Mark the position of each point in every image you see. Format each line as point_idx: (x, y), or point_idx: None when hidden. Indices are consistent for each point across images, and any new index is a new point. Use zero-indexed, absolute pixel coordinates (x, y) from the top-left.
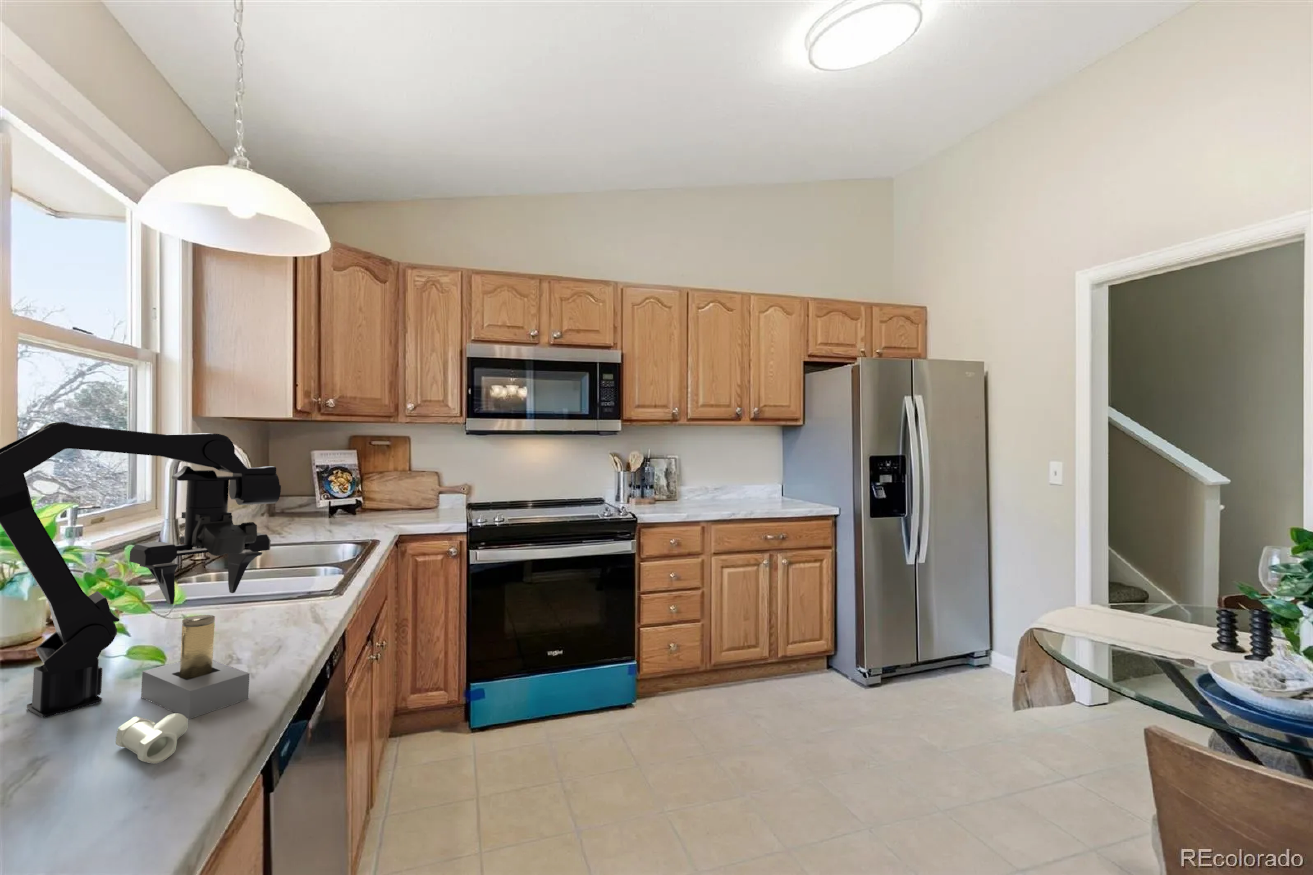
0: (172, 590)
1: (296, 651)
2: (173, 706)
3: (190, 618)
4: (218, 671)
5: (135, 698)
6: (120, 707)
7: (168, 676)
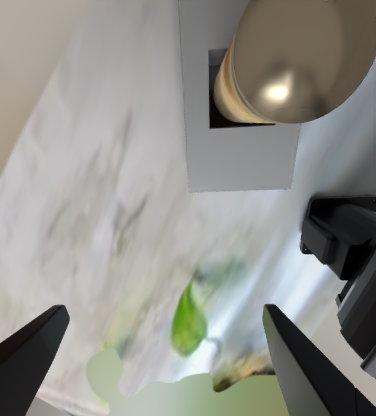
0: (306, 354)
1: (34, 189)
2: None
3: (322, 87)
4: (215, 45)
5: None
6: (309, 157)
7: None
